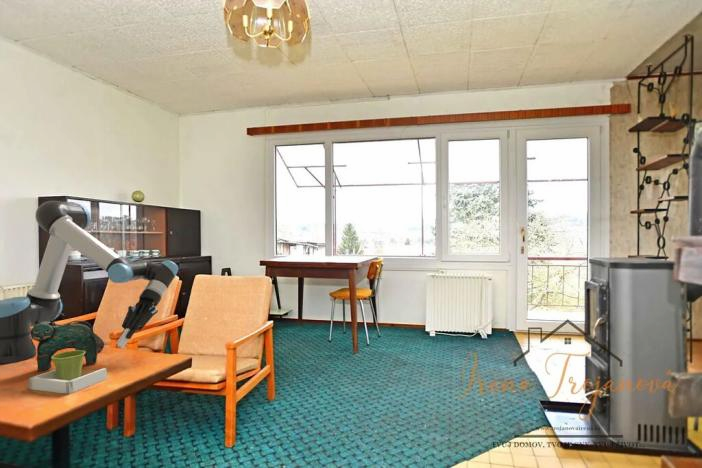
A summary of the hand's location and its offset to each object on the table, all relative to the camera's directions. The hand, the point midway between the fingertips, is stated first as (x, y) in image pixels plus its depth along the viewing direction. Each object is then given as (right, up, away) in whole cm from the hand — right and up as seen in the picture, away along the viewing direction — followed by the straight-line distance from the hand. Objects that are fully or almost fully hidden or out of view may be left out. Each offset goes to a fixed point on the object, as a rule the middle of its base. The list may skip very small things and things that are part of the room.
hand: (119, 345), depth 154 cm
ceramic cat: (-19, -8, -1) cm, 20 cm away
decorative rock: (-23, -8, +18) cm, 30 cm away
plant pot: (-8, -7, -16) cm, 19 cm away
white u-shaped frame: (-5, -7, -19) cm, 21 cm away
